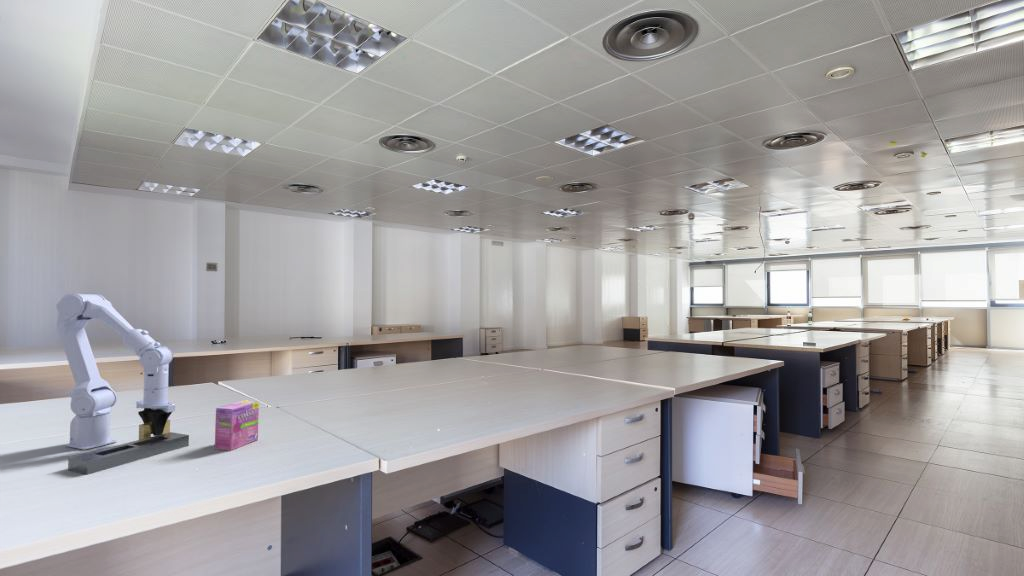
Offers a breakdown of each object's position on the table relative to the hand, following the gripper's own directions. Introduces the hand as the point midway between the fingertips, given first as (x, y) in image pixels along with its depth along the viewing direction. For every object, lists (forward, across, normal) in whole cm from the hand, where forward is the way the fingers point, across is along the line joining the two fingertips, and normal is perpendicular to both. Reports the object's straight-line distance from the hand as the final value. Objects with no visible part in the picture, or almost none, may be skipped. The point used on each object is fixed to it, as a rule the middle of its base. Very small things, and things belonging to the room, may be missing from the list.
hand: (154, 434), depth 135 cm
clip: (+2, 0, 0) cm, 2 cm away
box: (+3, +24, +8) cm, 25 cm away
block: (+2, +8, -10) cm, 13 cm away
